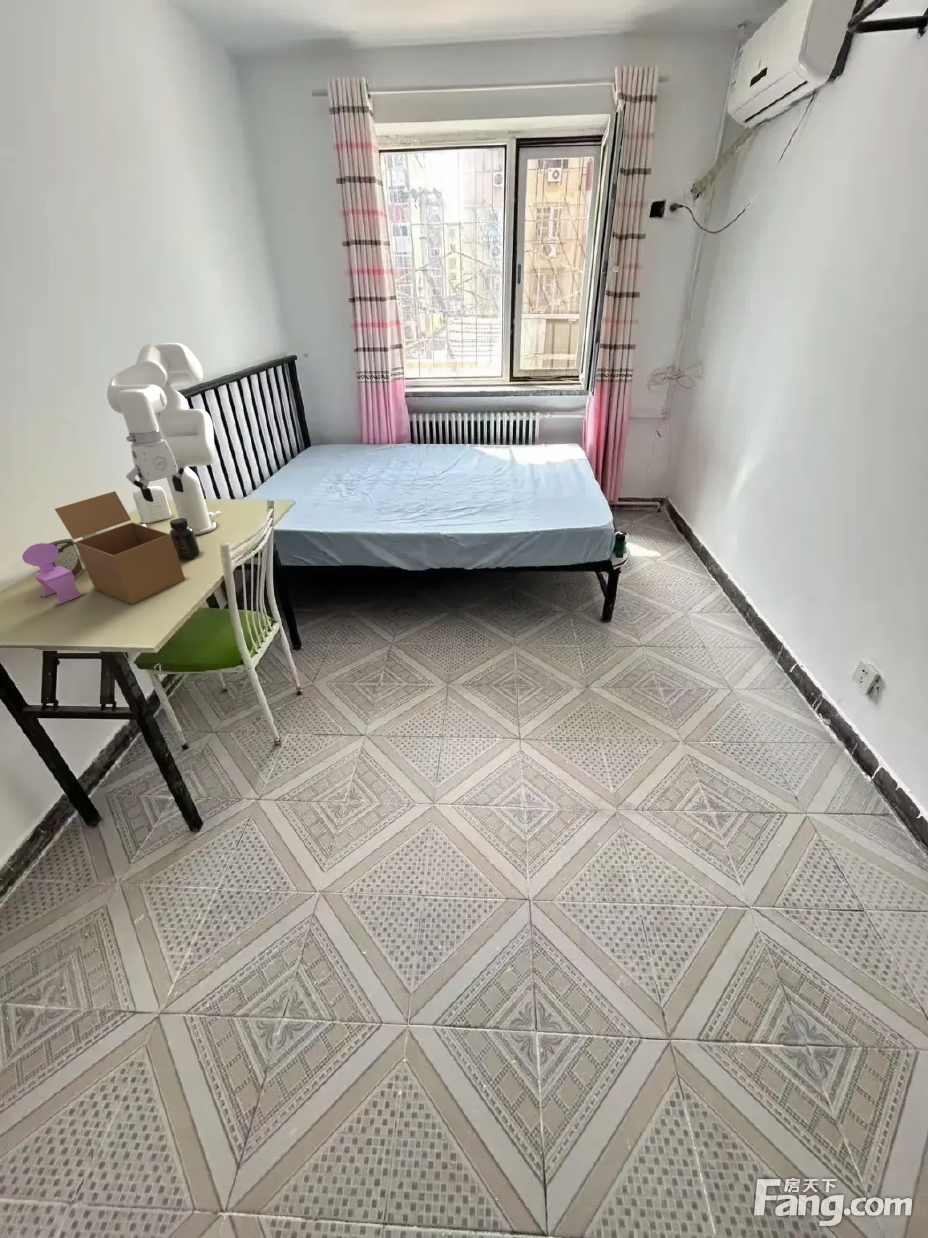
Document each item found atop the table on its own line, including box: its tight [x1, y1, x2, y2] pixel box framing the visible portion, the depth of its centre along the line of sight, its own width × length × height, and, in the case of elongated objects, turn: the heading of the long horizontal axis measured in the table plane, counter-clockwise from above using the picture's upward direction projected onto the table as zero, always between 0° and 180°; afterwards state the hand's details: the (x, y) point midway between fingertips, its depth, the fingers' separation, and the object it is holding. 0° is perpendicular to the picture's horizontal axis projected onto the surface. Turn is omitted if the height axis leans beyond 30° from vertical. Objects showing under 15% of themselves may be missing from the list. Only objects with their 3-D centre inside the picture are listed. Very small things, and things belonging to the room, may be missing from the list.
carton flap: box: [54, 490, 132, 541], centre depth 145 cm, size 9×16×1 cm
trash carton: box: [74, 521, 186, 605], centre depth 147 cm, size 18×16×14 cm
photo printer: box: [132, 485, 173, 525], centre depth 189 cm, size 10×4×12 cm, turn 134°
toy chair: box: [22, 542, 83, 606], centre depth 141 cm, size 8×9×15 cm
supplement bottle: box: [169, 517, 201, 561], centre depth 164 cm, size 7×7×12 cm
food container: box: [47, 538, 84, 579], centre depth 151 cm, size 12×6×10 cm, turn 5°
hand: (165, 496), depth 155 cm, fingers open, 9 cm apart
